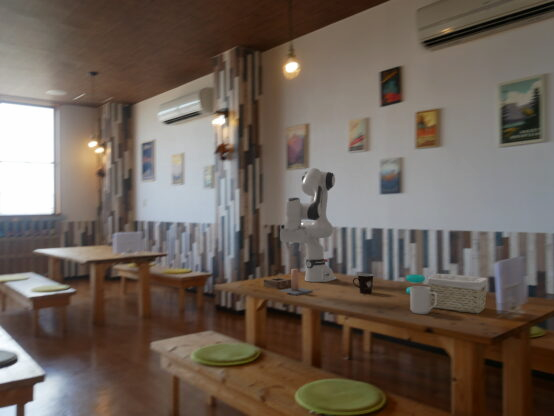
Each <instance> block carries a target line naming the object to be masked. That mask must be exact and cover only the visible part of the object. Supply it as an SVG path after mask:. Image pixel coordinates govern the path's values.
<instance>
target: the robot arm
mask: <svg viewBox="0 0 554 416" xmlns="http://www.w3.org/2000/svg"><path fill="white" fill-rule="evenodd" d="M301 176H302V177H301V190H302V192H303V193H304V194H305V195H307V196H310V202H303V203H302V202H301V198H300V197H289V198H287V199H286V202H285V203H286V204H285V215H286V219H285V223H282V224H281V225H280V226H279V229H280V232H279V240H280V242H283V243H284V244H285V246H286V250H287V251H290V250H291V249H292V248H291V246H290V243H298V244H299V245H298V246H299V247H298V248H297V251H299V252H302V251H303V247H304V245H305V248H306V249H305V250H306V259H305V264H306V267H305V276H304V281H306V282H313V283H319V282H320V283H321V282H322V283H327V282H331V281H334V280H337V276H334V271H333V270H332V268H331V267H330V266H328V265H327V264H326V263H328V262H329V259H328V258H325V259H324V257H325V255H324V246H323V245H322V244H321V243H319V241H318V240H317V238H318V239H325V238H329V237H331V236H332V235H333V233H334V228H333V225H332V223H331V222H330V221H329V220H328V218H327V206H328V194H329V193H328V191H330V190H331V189H332V188H333V187H334V186H335V183H336V177H335V176H336V175H335V174H334V173H333V172H330V171H328V172H327V171H321V170H320V169H319V168H315V167H312V168H310V169H309V170H308V171H305V172H304V173H303V174H302V175H301ZM302 220H303V221H302ZM304 220H305V221H304Z"/></svg>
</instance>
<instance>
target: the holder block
mask: <svg viewBox="0 0 554 416" xmlns="http://www.w3.org/2000/svg"><path fill="white" fill-rule="evenodd" d="M263 287H265V288H271V289H276V290H281V289H284V288H285V289H286V288H291V278H286V277H285V278H284V277H272V278H271V277H270V278H267V279H263Z"/></svg>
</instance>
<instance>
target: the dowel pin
mask: <svg viewBox="0 0 554 416" xmlns="http://www.w3.org/2000/svg"><path fill="white" fill-rule="evenodd" d="M290 270H291V271H290V274H291V276H290V277H291V278H290V279H291V287H290V288H291V290H292V291H298V288H299V269H298V268H292V269H290Z"/></svg>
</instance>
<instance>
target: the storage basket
mask: <svg viewBox="0 0 554 416" xmlns="http://www.w3.org/2000/svg"><path fill="white" fill-rule="evenodd" d="M488 281H489V279H488V277H481V276H471V275H461V274H460V275H459V274H451V273H450V274H449V273H436V274H432V275H430V276H429V277H428V278H427V285H428V287H429V288H430V291H431V292H435V293H437V305H436V306H434V304H435V294H434V293H431V307H432V306H434V307H433V308H432V309H441V310H446V311H447V310H449V311H450V310H451V311H456V312H460V313H461V312H462V313H463V312H464V313H465V312H466V313H471V314H480V313H481V312H482V311H483V310H484V309H485V307H486V299H487V298H486V297H487V285H488Z"/></svg>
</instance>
